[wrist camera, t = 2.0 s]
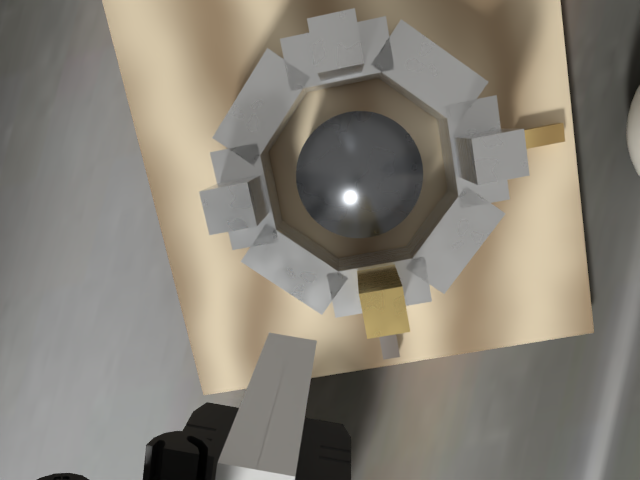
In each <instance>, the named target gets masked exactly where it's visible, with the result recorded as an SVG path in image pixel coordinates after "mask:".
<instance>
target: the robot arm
mask: <svg viewBox="0 0 640 480" xmlns="http://www.w3.org/2000/svg"><path fill="white" fill-rule="evenodd" d="M316 343H317V341H316V340H310V339H304V338H298V337H293V336H287V335H281V334H275V333H269V334H268V337H267V339H266V342H265V344H264V347H263V349H262V352H261V354H260V357H259V359H258V362H257V364H256V367H255V369H254V372H253V374H252V377H251V379H250V382H249V384H248V387H247V389H246V392H245V394H244V397H243V400H242V402H241V405H240V407H239V408H236V407H230V406H225V405H219V404H213V403H205V404H204V405H202V406H201V407H199V408H198V409H196V410H195V411H193V413H192V415H191V417H190V418H189V420H188V422H187V424H186V426H185V427H184V429H183V431H174V432H168V433H164V434H161V435H159V436H157V437H155V438H153V439H152V440H151V441H150V442H149V443H148V444H147V445H146V453H145V463H144V473H143V480H351V437H350V435H349V434H348V432H347V430H346V429H345V427H344V425H343V424H337V423H331V422H326V421H320V420H314V419H308V418H305V413H306V406H307V400H308V394H309V387H310V381H311V375H312V369H313V362H314V356H315V350H316ZM37 480H89V479H87V478H86V477H84V476H82V475H77V474H73V473H59V474H52V475H49V476H45V477H41V478H39V479H37Z"/></svg>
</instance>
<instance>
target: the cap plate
mask: <svg viewBox="0 0 640 480" xmlns="http://www.w3.org/2000/svg"><path fill="white" fill-rule="evenodd" d="M102 2H103V6H104V10H105V13H106V17H107V21H108V25H109V29H110V33H111V37H112V41H113V45H114V48H115V52H116V56H117V60H118V64H119V68H120V72H121V76H122V80H123V83H124V87H125V91H126V95H127V99H128V103H129V107H130V111H131V115H132V118H133V122H134V126H135V130H136V134H137V138H138V142H139V146H140V150H141V153H142V157H143V161H144V165H145V169H146V173H147V177H148V181H149V185H150V189H151V192H152V196H153V200H154V204H155V208H156V212H157V216H158V220H159V224H160V227H161V231H162V235H163V239H164V243H165V247H166V251H167V255H168V259H169V262H170V266H171V270H172V274H173V278H174V282H175V286H176V290H177V294H178V297H179V301H180V305H181V309H182V313H183V317H184V321H185V325H186V329H187V332H188V336H189V340H190V344H191V348H192V352H193V356H194V360H195V364H196V368H197V371H198V375H199V379H200V383H201V387H202V391H203V395H209V394H215V393H221V392H227V391H233V390H240V389H246V388H247V387H248V384H249V382H250V379H251V377H252V374H253V372H254V369H255V367H256V364H257V362H258V359H259V357H260V354H261V352H262V349H263V347H264V344H265V342H266V339H267V337H268V334H269V333H275V334H281V335H287V336H293V337H298V338H304V339H310V340H316V341H317V343H316V350H315V356H314V362H313V369H312V375H311V378H314V377H321V376H327V375H333V374H339V373H346V372H352V371H358V370H364V369H371V368H377V367H383V366H389V365H395V364H402V363H408V362H414V361H420V360H427V359H433V358H439V357H445V356H452V355H458V354H464V353H470V352H476V351H483V350H489V349H495V348H501V347H508V346H514V345H520V344H526V343H533V342H539V341H545V340H551V339H557V338H564V337H570V336H576V335H582V334H589V333H594V327H593V317H592V307H591V298H590V288H589V278H588V268H587V258H586V248H585V239H584V229H583V219H582V209H581V199H580V189H579V179H578V170H577V160H576V150H575V140H574V130H573V120H572V111H571V101H570V91H569V81H568V71H567V61H566V52H565V42H564V32H563V22H562V12H561V2H560V0H102ZM353 8H355V12H356V18H357V22H360V21H365V20H369V19H374V18H379V17H383V16H386V20H387V26H388V32H389V37H390V35H391V34H392V32H393V31H394V29H395V28H396V26H397V25H398V23H399V22H400V20H401V19H402V20H403V21H404V22H406V23H407V24H409V25H410V26H411V27H413V28H414V29H416V30H417V31H418V32H420V33H421V34H423V35H424V36H425V37H427V38H428V39H430V40H431V41H432V42H434V43H435V44H437V45H438V46H439V47H441V48H442V49H443V50H445V51H446V52H448V53H449V54H450V55H452V56H453V57H455V58H456V59H457V60H459V61H460V62H462V63H463V64H464V65H466V66H467V67H469V68H470V69H471V70H473V71H474V72H476V73H477V74H478V75H480V76H481V77H483V78H484V79H485V80H487V81H488V84H487V85H486V86H485V88H484V89H483V91H482V92H481V93H480V95H479V96H478V98H477V99H479V98H484V97H489V96H494V95H497V102H498V110H499V118H500V126H501V129H524V133H525V141H526V149H527V158H528V166H529V174H530V176H525V177H519V178H514V179H509V180H507V181H508V189H509V197H510V199H509V200H504V201H498V202H493V203H491V204H493V205H494V206H496V207H497V208H498V209H500V210H501V211H503V212H504V213H506V214H505V215H504V217H503V218H502V219H501V221H500V222H499V223H498V224H497V226H496V227H495V228H494V230H493V231H492V232H491V234H490V235H489V236H488V238H487V239H486V240H485V241H484V243H483V244H482V245H481V247H480V248H479V249H478V251H477V252H476V253H475V255H474V256H473V257H472V258H471V260H470V261H469V262H468V264H467V265H466V266H465V268H464V269H463V270H462V272H461V273H460V274H459V275H458V277H457V278H456V279H455V281H454V282H453V283H452V285H451V286H450V287H449V289H448V290H447V291H446V292H445V294H443V293H442V292H440V291H439V290H437V289H436V288H434V287H433V286H431V285H430V284H429V286H430V292H431V298H432V302H426V303H420V304H414V305H409V306H406V309H407V315H408V321H409V327H410V332H407V333H401V334H395V335H388V336H382V337H376V338H370V339H367V335H366V329H365V324H364V319H363V313H361V314H355V315H350V316H344V317H338V318H335V313H334V308H333V303H332V302H331V303H330V304H329V306H328V307H327V309H326V310H325V311H324V313H323V314H322V315H321V314H320V313H318V312H317V311H315V310H314V309H312V308H310V307H309V306H307V305H306V304H304V303H303V302H301V301H300V300H298V299H297V298H295V297H294V296H292V295H291V294H289V293H288V292H286V291H285V290H283V289H282V288H280V287H278V286H277V285H275V284H274V283H272V282H271V281H269V280H268V279H266V278H265V277H263V276H262V275H260V274H259V273H257V272H256V271H254V270H253V269H251V268H250V267H248V266H246V265H245V264H243V263H242V262H241V260H242V259H243V257H244V256H245V254H246V253H247V251H248V250H249V248H250V247H247V248H242V249H236V250H232V246H231V242H230V237H229V233H228V232H224V233H219V234H213V235H209V231H208V227H207V223H206V219H205V215H204V210H203V206H202V202H201V198H200V194H199V191H202V190H204V189H206V188H209V187H211V186H213V185H216V184H217V181H216V177H215V173H214V168H213V164H212V160H211V156H210V152H214V151H219V150H224V149H228V148H226V147H225V146H223V145H222V144H221V143H219V142H218V141H216V140H215V139H213V138H212V137H213V136H214V134H215V132H216V131H217V129H218V127H219V126H220V124H221V123H222V121H223V119H224V118H225V116H226V114H227V113H228V111H229V109H230V108H231V106H232V105H233V103H234V101H235V100H236V98H237V96H238V95H239V93H240V92H241V90H242V88H243V87H244V85H245V83H246V82H247V80H248V79H249V77H250V75H251V74H252V72H253V70H254V69H255V67H256V66H257V64H258V62H259V61H260V59H261V57H262V56H263V54H264V53H265V51H266V49H267V48H268V49H270V50H271V51H273V52H274V53H275V54H277V55H278V56H280V57H281V58H283V59H284V57H283V52H282V47H281V42H280V39H281V38H286V37H291V36H295V35H300V34H304V33H309V27H308V22H307V18H312V17H316V16H321V15H325V14H330V13H335V12H339V11H344V10H348V9H353ZM352 111H368V112H374V113H378V114H382V115H384V116H386V117H389V118H390V119H392V120H394V121H395V122H397V123H398V124H399V125H401V126H402V127H403V128H404V129H405V130H406V131H407V132H408V133H409V134H410V136H411V137H412V139H413V140H414V142H415V144H416V146H417V147H418V150H419V153H420V155H421V159H422V164H423V183H422V189H421V192H420V195H419V198H418V200H417V202H416V205H415V206H414V208H413V209H412V211H411V212H410V214H409V215H408V216H407V217H406V218H405V219H404V220H403V221H402V222H401V223H400V224H399V225H397V226H396V227H394V228H393V229H391V230H389V231H388V232H386V233H383V234H380V235H378V236H374V237H369V238H349V237H344V236H341V235H337V234H335V233H333V232H330V231H329V230H327V229H325V228H324V227H322V226H321V225H320V224H318V223H317V222H316V221H315V220H314V219H313V218H312V217H311V216H310V214H309V213H308V212H307V210H306V209H305V207H304V205H303V203H302V201H301V199H300V196H299V193H298V189H297V183H296V168H297V162H298V158H299V154H300V152H301V149H302V147H303V145H304V144H305V142H306V140H307V139H308V137H309V136H310V135H311V133H312V132H313V131H314V130H315V129H316V128H317V127H318V126H320V125H321V124H322V123H324V122H325V121H327V120H328V119H330V118H332V117H334V116H337V115H339V114H343V113H346V112H352ZM269 158H270V163H271V168H272V172H273V177H274V182H275V186H276V191H277V196H278V201H279V205H280V210H281V215H282V220H283V221H284V222H286V223H287V224H289V225H290V226H292V227H293V228H295V229H296V230H298V231H299V232H301V233H302V234H304V235H305V236H307V237H308V238H310V239H311V240H313V241H314V242H316V243H317V244H319V245H320V246H322V247H323V248H325V249H326V250H328V251H329V252H331V253H332V254H334V255H335V256H337V257H338V258H343V257H348V256H354V255H359V254H365V253H371V252H376V251H382V250H387V249H393V248H399V247H404V246H407V244H408V243H409V242H410V240H411V239H412V238H413V236H414V235H415V233H416V232H417V231H418V229H419V228H420V227H421V225H422V224H423V222H424V221H425V220H426V218H427V217H428V216H429V214H430V213H431V212H432V210H433V209H434V207H435V206H436V205H437V203H438V202H439V201H440V199H441V198H442V196H443V195H444V194H445V192H446V191H447V183H446V176H445V169H444V163H443V156H442V149H441V143H440V136H439V129H438V123H437V119H436V118H434V117H433V116H432V115H430V114H429V113H427V112H426V111H424V110H423V109H422V108H420V107H419V106H417V105H416V104H414V103H413V102H412V101H410V100H409V99H407V98H406V97H404V96H403V95H402V94H400V93H399V92H397V91H396V90H395V89H393V88H392V87H390V86H389V85H387V84H386V83H385V82H383V81H382V80H380V79H379V78H375V79H370V80H365V81H360V82H355V83H350V84H346V85H341V86H336V87H331V88H326V89H321V90H317V91H312V92H307V93H306V95H305V97H304V98H303V100H302V101H301V103H300V104H299V106H298V107H297V109H296V111H295V112H294V114H293V115H292V117H291V118H290V120H289V121H288V123H287V125H286V126H285V128H284V129H283V131H282V132H281V134H280V135H279V137H278V139H277V140H276V142H275V143H274V145H273V146H272V148H271V149H270V151H269Z"/></svg>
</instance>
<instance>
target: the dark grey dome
mask: <svg viewBox="0 0 640 480" xmlns="http://www.w3.org/2000/svg"><path fill="white" fill-rule="evenodd" d="M296 183H297V189H298V193H299V196H300V199H301V201H302V203H303V205H304V207H305V209H306V210H307V212H308V213H309V214H310V216H311V217H312V218H313V219H314V220H315V221H316V222H317V223H318V224H320V225H321V226H322V227H324V228H325V229H327V230H329V231H330V232H333V233H335V234H337V235H341V236H344V237H349V238H369V237H374V236H378V235H380V234H383V233H386V232H388V231H389V230H391V229H393V228H394V227H396V226H397V225H399V224H400V223H401V222H402V221H403V220H404V219H405V218H406V217H407V216H408V215H409V214H410V212H411V211H412V209H413V208H414V206H415V205H416V202H417V200H418V198H419V195H420V192H421V189H422V183H423V164H422V159H421V155H420V153H419V150H418V147H417V146H416V144H415V142H414V140H413V139H412V137H411V136H410V134H409V133H408V132H407V131H406V130H405V129H404V128H403V127H402V126H401V125H399V124H398V123H397V122H395V121H394V120H392V119H390V118H389V117H386V116H384V115H382V114H378V113H374V112H368V111H352V112H346V113H343V114H339V115H337V116H334V117H332V118H330V119H328V120H327V121H325V122H324V123H322V124H321V125H320V126H318V127H317V128H316V129H315V130H314V131H313V132H312V133H311V135H310V136H309V137H308V139H307V140H306V142H305V144H304V145H303V147H302V149H301V152H300V154H299V158H298V162H297V168H296Z"/></svg>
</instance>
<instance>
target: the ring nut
mask: <svg viewBox="0 0 640 480" xmlns="http://www.w3.org/2000/svg"><path fill="white" fill-rule="evenodd" d="M307 22H308V27H309V33H304V34H300V35H295V36H291V37H286V38H281V39H280V42H281V47H282V52H283V57H284V59H283V58H281V57H280V56H278V55H277V54H275V53H274V52H273V51H271V50H270V49H268V48H267V49H266V51H265V53H264V54H263V56H262V57H261V59H260V61H259V62H258V64H257V66H256V67H255V69H254V70H253V72H252V74H251V75H250V77H249V79H248V80H247V82H246V83H245V85H244V87H243V88H242V90H241V92H240V93H239V95H238V96H237V98H236V100H235V101H234V103H233V105H232V106H231V108H230V109H229V111H228V113H227V114H226V116H225V118H224V119H223V121H222V123H221V124H220V126H219V127H218V129H217V131H216V132H215V134H214V136H213V137H212V138H213V139H215V140H216V141H218V142H219V143H221V144H222V145H223V146H225V147H226V148H228V149H224V150H219V151H214V152H210V156H211V160H212V164H213V168H214V173H215V177H216V181H217V184H216V185H213V186H211V187H209V188H206V189H204V190H202V191H199V194H200V198H201V202H202V206H203V210H204V215H205V219H206V223H207V227H208V231H209V235H213V234H219V233H224V232H228V233H229V237H230V242H231V246H232V250H236V249H242V248H247V247H250V248H249V250H248V251H247V253H246V254H245V256H244V257H243V259H242V260H241V262H242V263H243V264H245V265H246V266H248V267H250V268H251V269H253V270H254V271H256V272H257V273H259V274H260V275H262V276H263V277H265V278H266V279H268V280H269V281H271V282H272V283H274V284H275V285H277V286H278V287H280V288H282V289H283V290H285V291H286V292H288V293H289V294H291V295H292V296H294V297H295V298H297V299H298V300H300V301H301V302H303V303H304V304H306V305H307V306H309V307H310V308H312V309H314V310H315V311H317V312H318V313H320V314H321V315H322V314H323V313H324V311H325V310H326V309H327V307H328V306H329V304H330V303H331V302H332V303H333V308H334V313H335V318H338V317H344V316H350V315H355V314H361V313H363V319H364V324H365V329H366V335H367V339H370V338H376V337H382V336H388V335H395V334H401V333H407V332H410V327H409V321H408V315H407V309H406V306H409V305H414V304H420V303H426V302H432V298H431V292H430V286H429V284H430V285H431V286H433V287H434V288H436V289H437V290H439V291H440V292H442V293H443V294H445V292H446V291H447V290H448V289H449V287H450V286H451V285H452V283H453V282H454V281H455V279H456V278H457V277H458V275H459V274H460V273H461V272H462V270H463V269H464V268H465V266H466V265H467V264H468V262H469V261H470V260H471V258H472V257H473V256H474V255H475V253H476V252H477V251H478V249H479V248H480V247H481V245H482V244H483V243H484V241H485V240H486V239H487V238H488V236H489V235H490V234H491V232H492V231H493V230H494V228H495V227H496V226H497V224H498V223H499V222H500V221H501V219H502V218H503V217H504V215H505V214H506V213H504V212H503V211H501V210H500V209H498V208H497V207H496V206H494V205H493V204H491V203H493V202H498V201H504V200H509V199H510V197H509V189H508V181H507V180H509V179H514V178H519V177H525V176H530V174H529V166H528V158H527V149H526V141H525V133H524V129H501V126H500V118H499V110H498V102H497V95H494V96H489V97H484V98H479V99H477V98H478V96H479V95H480V93H481V92H482V91H483V89H484V88H485V86H486V85H487V84H488V81H487V80H485V79H484V78H483V77H481V76H480V75H478V74H477V73H476V72H474V71H473V70H471V69H470V68H469V67H467V66H466V65H464V64H463V63H462V62H460V61H459V60H457V59H456V58H455V57H453V56H452V55H450V54H449V53H448V52H446V51H445V50H443V49H442V48H441V47H439V46H438V45H437V44H435V43H434V42H432V41H431V40H430V39H428V38H427V37H425V36H424V35H423V34H421V33H420V32H418V31H417V30H416V29H414V28H413V27H411V26H410V25H409V24H407V23H406V22H404V21H403V20H402V19H401V20H400V22H399V23H398V25H397V26H396V28H395V29H394V31H393V32H392V34H391V35H390V37H389V32H388V26H387V20H386V16H383V17H379V18H374V19H369V20H365V21H360V22H357V18H356V12H355V8H353V9H348V10H344V11H339V12H335V13H330V14H325V15H321V16H316V17H312V18H307ZM375 78H379V79H380V80H382V81H383V82H385V83H386V84H387V85H389V86H390V87H392V88H393V89H395V90H396V91H397V92H399V93H400V94H402V95H403V96H404V97H406V98H407V99H409V100H410V101H412V102H413V103H414V104H416V105H417V106H419V107H420V108H422V109H423V110H424V111H426V112H427V113H429V114H430V115H432V116H433V117H434V118H436V119H437V123H438V129H439V136H440V143H441V149H442V156H443V163H444V169H445V176H446V183H447V191H446V192H445V194H444V195H443V196H442V198H441V199H440V201H439V202H438V203H437V205H436V206H435V207H434V209H433V210H432V212H431V213H430V214H429V216H428V217H427V218H426V220H425V221H424V222H423V224H422V225H421V227H420V228H419V229H418V231H417V232H416V233H415V235H414V236H413V238H412V239H411V240H410V242H409V243H408V244H407V246H404V247H399V248H393V249H387V250H382V251H376V252H371V253H365V254H359V255H354V256H348V257H343V258H338V257H337V256H335V255H334V254H332V253H331V252H329V251H328V250H326V249H325V248H323V247H322V246H320V245H319V244H317V243H316V242H314V241H313V240H311V239H310V238H308V237H307V236H305V235H304V234H302V233H301V232H299V231H298V230H296V229H295V228H293V227H292V226H290V225H289V224H287V223H286V222H284V221H283V220H282V215H281V210H280V205H279V201H278V196H277V191H276V186H275V182H274V177H273V172H272V168H271V163H270V158H269V151H270V149H271V148H272V146H273V145H274V143H275V142H276V140H277V139H278V137H279V135H280V134H281V132H282V131H283V129H284V128H285V126H286V125H287V123H288V121H289V120H290V118H291V117H292V115H293V114H294V112H295V111H296V109H297V107H298V106H299V104H300V103H301V101H302V100H303V98H304V97H305V95H306V93H307V92H312V91H317V90H321V89H326V88H331V87H336V86H341V85H346V84H350V83H355V82H360V81H365V80H370V79H375Z"/></svg>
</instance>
